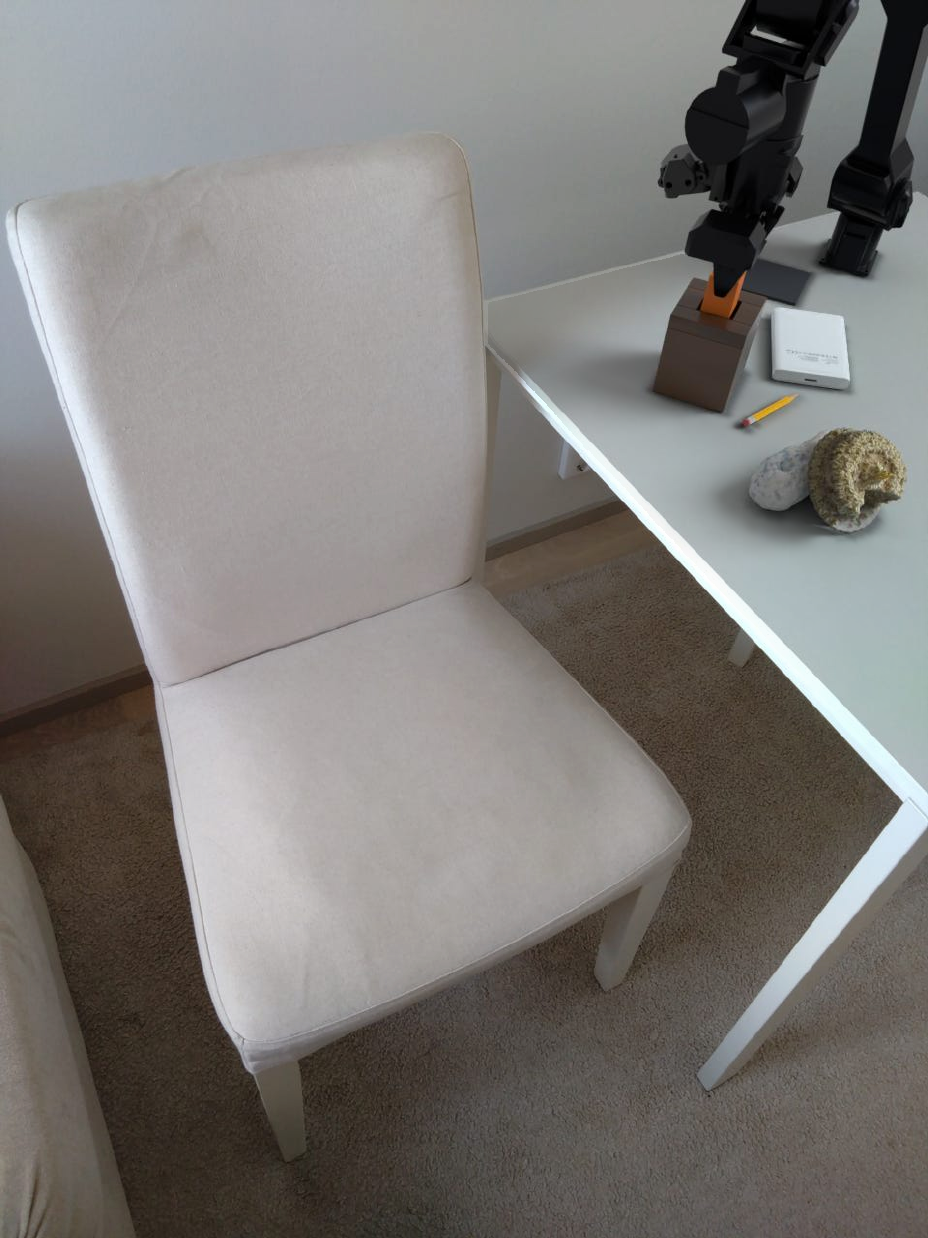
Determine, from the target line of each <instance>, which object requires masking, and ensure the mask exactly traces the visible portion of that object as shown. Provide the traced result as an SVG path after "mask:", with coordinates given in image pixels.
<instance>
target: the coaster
mask: <svg viewBox="0 0 928 1238" xmlns="http://www.w3.org/2000/svg"><path fill="white" fill-rule="evenodd" d="M810 275H811V272H810V271H807V270H803V269H800V268H796V267H792V266H787V265H784V264H780V263H776V262H772V261H770V260H765V259H761V258H759V257H758V258H757V260H756V262H755V263H754V265H753V267H752V269H751V270H747V271H746V274H745V277H744V281H743V284H742V288H741V290H742V291H746V292H749V293H753V294H757V295H760V296H764V297H767V299H770V300H774V301H778V302H781V303H785V304H788V305H791V306H796V305H797V303H798V301H799V299H800V297H801V294H802V293H803V290H804V288H805V286H806V284H807V282H808V281H809V278H810Z"/></svg>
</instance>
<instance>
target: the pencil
mask: <svg viewBox="0 0 928 1238" xmlns="http://www.w3.org/2000/svg"><path fill="white" fill-rule="evenodd" d="M797 396H798V393H796V394H791V395H787V396H785V397H783V398H781V399H780V400H778V401H776V402H774V403H773V404H770V405H769V406H767V407H765V408H763V409H762V410H759V411H758V412H756V413H754V414H752V415H751V416H749V417H747V418H745V419H744V420H742V425H743V426H744V427H747V428H748V426H751V425H752V424H753V423H756V422H757V421H759V420H761V419H763V418H764V417H766V416H768V415H770V414H771V413H774V412H776V411H777V410H778V409H781V408H782V407H784V406H786V405H788V404H790V403H791V402H792V401H793V400H794V399H795V398H796V397H797Z"/></svg>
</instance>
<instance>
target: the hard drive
mask: <svg viewBox="0 0 928 1238" xmlns="http://www.w3.org/2000/svg"><path fill="white" fill-rule="evenodd" d="M844 320H845V319H844V317H843V316H842V315H839V314H831V313H824V312H816V311H810V310H803V309H795V308H788V307H779V306H778V307H777V306H776V307H774V308H773V309H772V312H771V315H770V329H771V331H770V332H771V379H773V380H775V381H779V382H785V383H793V384H799V385H807V386H813V387H819V388H820V387H821V388H827V389H834V390H847V389H848V387H849V385H850V382H851V376H850V367H849V356H848V347H847V336H846V335H847V334H846V327H845V321H844Z"/></svg>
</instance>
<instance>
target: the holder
mask: <svg viewBox="0 0 928 1238" xmlns="http://www.w3.org/2000/svg"><path fill="white" fill-rule="evenodd" d="M707 283H708V280H706V279H702V278H699V277H694V276H693V278H692V279H691V280H690V282H689V284H688V285H687V287H686V289H685V290H684V292H683V294H681V297H680V298H679V300H678V302H677V303H676V304H675V306H674V308H673V309H672V311H671V313H670V314H669V318H668V322H667V327H666V330H665V335H664V340H663V344H662V348H661V352H660V356H659V361H658V364H657V365H658V366H657V370H656V375H655V378H654V383H653V387H652V392H655V393H658V394H662V395H665V396H668V397H671V398H674V399H677V400H680V401H683V402H686V403H690V404H693V405H697V406H700V407H702V408H705V409H709V410H712V411H715V412H717V413H722V414H724V412H725V410H726V409H727V407H728V404H729V403H730V400H731V398H732V396H733V394H734V392H735V391H736V388H737V386H738V384H739V382H740V380H741V377H742V376H743V373H744V371H745V368H746V366H747V365H746V364H747V362H748V359H749V356H750V354H751V349H752V346H753V343H754V340H755V337H756V334H757V330H758V328H759V325H760V321H761V318H762V315H763V313H764V309H765V306H766V303H767V299H768V298H767V297H764V296H760V295H757V294H753V293H749V292H746V291H742V290H741V291H740V294H739V298H738V301H737V305H736V306H735V308H734V310H733V312H732V314H731V315H730V317H729V319H727V318H723V317H720V316H716V315H713V314H709V313H706V312H702V311H700V310H701V306H702V302H703V298H704V295H705V291H706V287H707Z"/></svg>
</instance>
